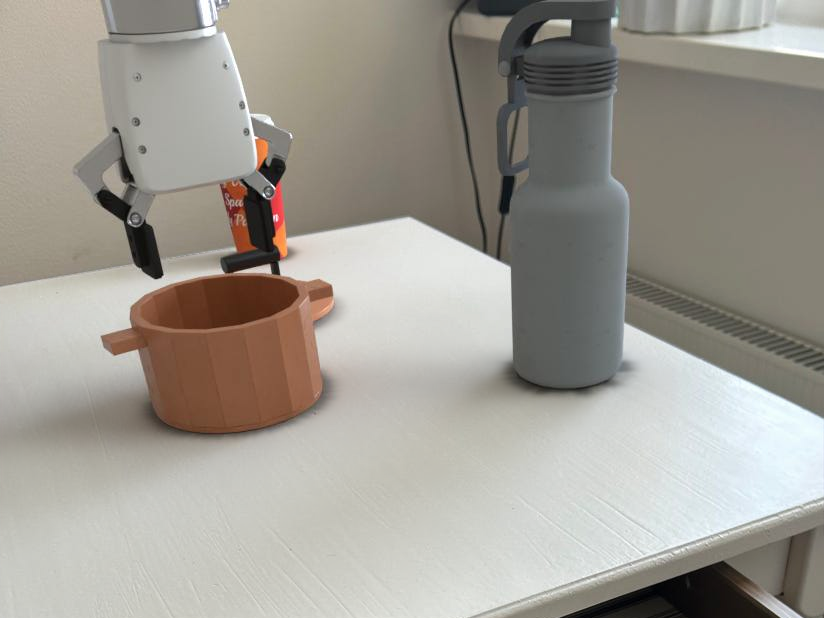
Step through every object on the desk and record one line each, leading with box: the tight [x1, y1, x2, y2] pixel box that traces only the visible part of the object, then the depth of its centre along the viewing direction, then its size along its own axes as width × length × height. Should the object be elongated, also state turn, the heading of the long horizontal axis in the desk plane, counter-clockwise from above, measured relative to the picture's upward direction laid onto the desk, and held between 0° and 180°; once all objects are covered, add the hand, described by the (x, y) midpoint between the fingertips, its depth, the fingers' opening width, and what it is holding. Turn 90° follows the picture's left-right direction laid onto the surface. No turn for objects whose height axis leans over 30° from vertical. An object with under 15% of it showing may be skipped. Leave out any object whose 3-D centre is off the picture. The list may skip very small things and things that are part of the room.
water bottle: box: [495, 0, 630, 390], centre depth 79 cm, size 10×10×28 cm
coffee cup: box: [219, 113, 288, 259], centre depth 115 cm, size 8×8×15 cm
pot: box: [100, 272, 334, 434], centre depth 84 cm, size 15×20×8 cm
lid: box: [219, 245, 335, 322], centre depth 101 cm, size 16×16×6 cm
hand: (209, 261), depth 79 cm, fingers open, 9 cm apart
